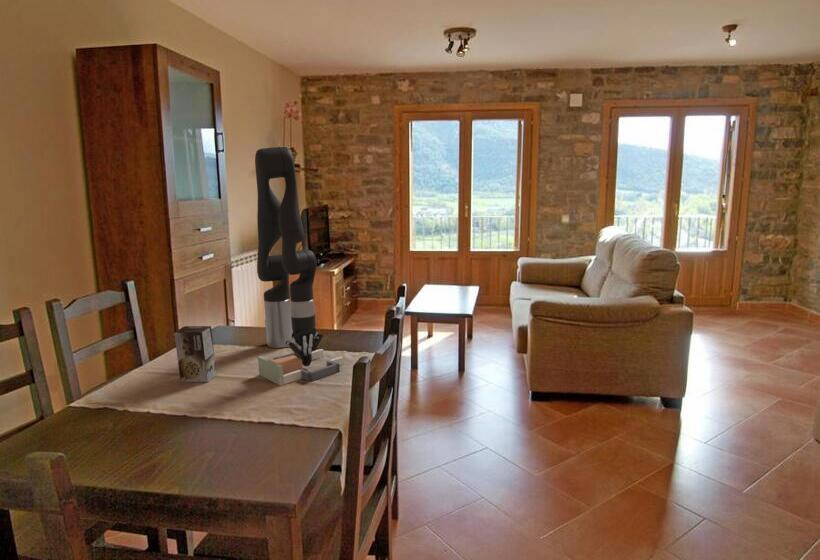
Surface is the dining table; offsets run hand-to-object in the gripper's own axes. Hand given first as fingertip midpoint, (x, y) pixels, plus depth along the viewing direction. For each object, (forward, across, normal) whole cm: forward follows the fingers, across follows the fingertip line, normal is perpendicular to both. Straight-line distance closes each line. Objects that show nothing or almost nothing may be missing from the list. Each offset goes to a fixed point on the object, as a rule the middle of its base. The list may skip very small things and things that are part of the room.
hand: (306, 365), depth 171 cm
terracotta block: (+1, +6, -2) cm, 7 cm away
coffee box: (+1, +28, -18) cm, 33 cm away
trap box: (+1, +1, 0) cm, 1 cm away
